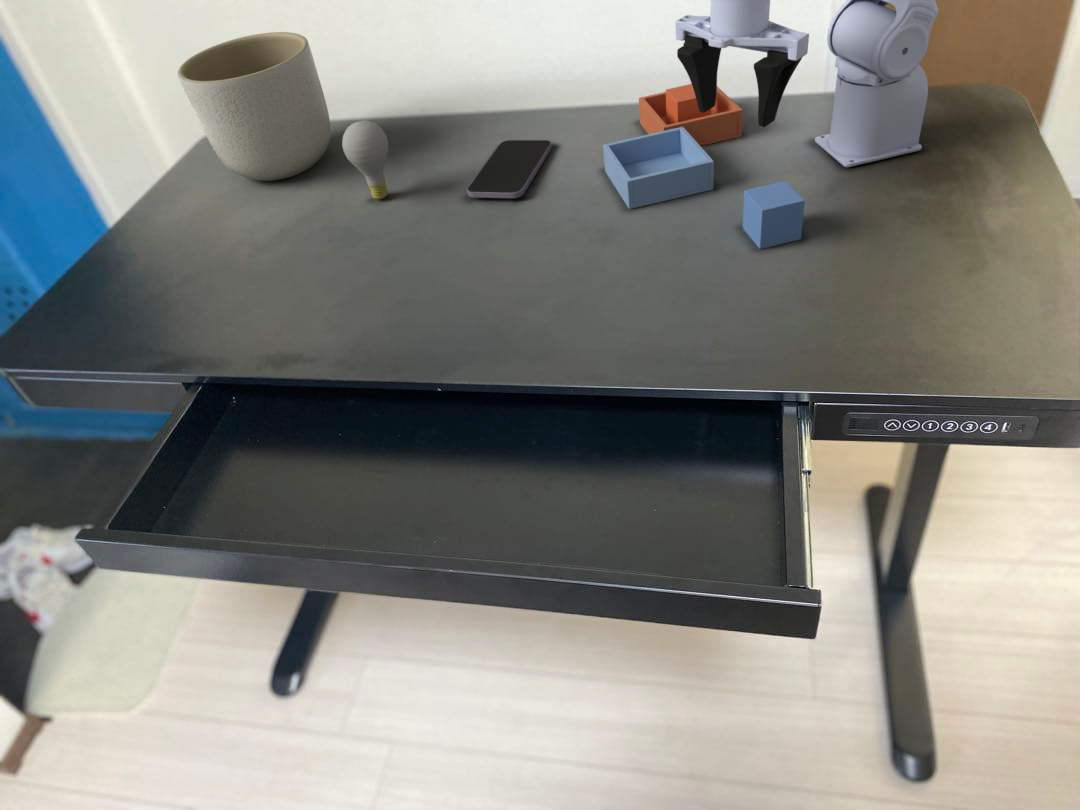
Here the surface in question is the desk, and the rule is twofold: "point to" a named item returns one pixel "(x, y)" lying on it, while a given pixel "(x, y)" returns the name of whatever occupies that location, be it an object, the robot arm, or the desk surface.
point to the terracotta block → (682, 105)
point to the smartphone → (510, 169)
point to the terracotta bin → (704, 129)
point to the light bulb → (368, 153)
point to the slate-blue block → (773, 214)
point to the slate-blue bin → (658, 167)
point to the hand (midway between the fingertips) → (736, 115)
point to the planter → (260, 104)
